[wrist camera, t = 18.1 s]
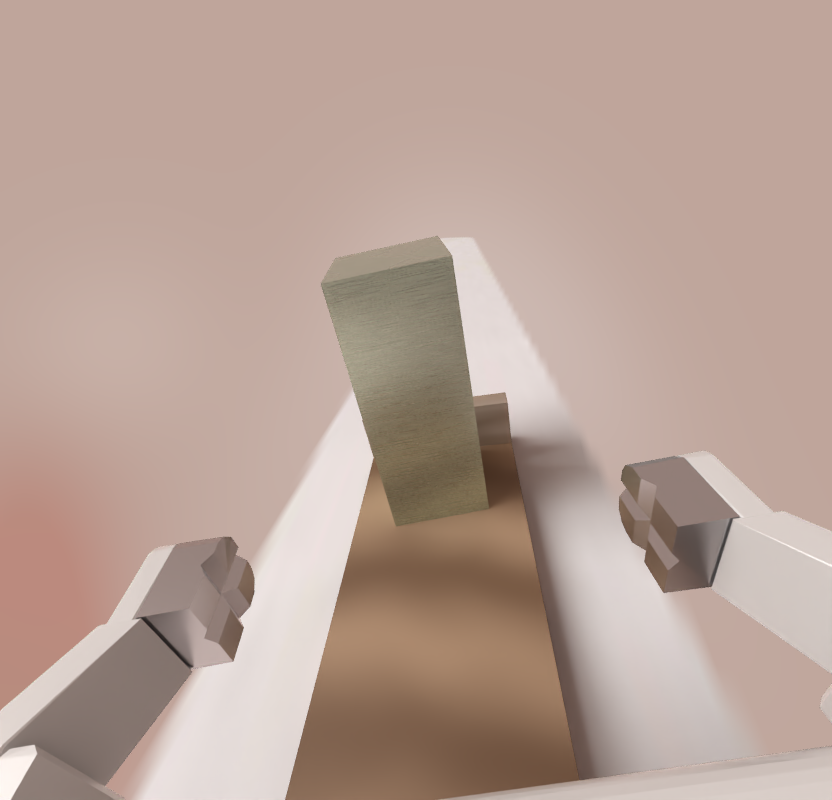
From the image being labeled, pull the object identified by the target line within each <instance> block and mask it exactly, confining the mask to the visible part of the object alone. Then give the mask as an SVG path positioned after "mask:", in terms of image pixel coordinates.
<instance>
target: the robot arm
mask: <svg viewBox="0 0 832 800" xmlns="http://www.w3.org/2000/svg"><path fill="white" fill-rule="evenodd" d="M621 481H622V482H623V484H624V485H625V486H626V488H627V489H626V490H625V491H624V492H623V493H622V494H621V495H620V497H619V511H620V515H621V520H622V523H623V525H624V528H625V530H626V532H627V534H628V536H629V537H630V539H631V541H632V542H633V543H634V544H636V545H638V546H639V547H641V548H643V549H644V550H646V554H645V561H644V562H645V564H646V565H647V567H648V569H649V570H650V572H651V573H652V575H653V577H654V578H655V580H656V581H657V583H658V585H659V586H660V588H661V589H662V591H663V593H667V592H675V591H682V590H689V589H697V588H705V587H712V590H713V591H715V592H716V593H718V594H719V595H720V596H722V597H723V598H725V599H726V600H728V601H729V602H731V603H732V604H733V605H735V606H736V607H737V608H739V609H740V610H742V611H743V612H744V613H746V614H747V615H749V616H750V617H752V618H753V619H755V620H756V621H757V622H759V623H760V624H762V625H763V626H764V627H766V628H767V629H769V630H770V631H772V632H773V633H774V634H776V635H777V636H779V637H780V638H781V639H783V640H784V641H786V642H787V643H789V644H790V645H791V646H793V647H794V648H796V649H797V650H798V651H800V652H801V653H803V654H804V655H806V656H807V657H808V658H810V659H811V660H813V661H814V662H816V663H817V664H818V665H820V666H821V667H823V668H824V669H825V670H827V671H828V672H830V673H831V674H832V531H830V530H828V529H825V528H823V527H820V526H818V525H815V524H813V523H811V522H808V521H806V520H803V519H801V518H799V517H796V516H794V515H791V514H789V513H787V512H784V511H780V512H773V511H772V510H771V509H770V508H769V507H768V506H767V505H766V504H765V503H764V502H762V500H760V499H759V498H758V497H757V496H756V495H755V494H754V493H753V492H752V491H751V490H750V489H749V488H748V487H746V485H745V484H743V483H742V482H741V481H740V480H739V479H738V478H737V477H736V476H735V475H734V474H733V473H732V472H731V471H730V470H729V469H728V468H727V467H725V466H724V465H723V464H722V463H721V462H720V461H719V460H718V459H717V458H716V457H715V456H714V455H713V454H711V453H709V452H707V451H700V452H695V453H689V454H683V455H678V456H673V457H667V458H662V459H657V460H651V461H646V462H641V463H635V464H630V465H625V467H624V469H623V470H622V477H621ZM237 550H238V546H237V545H236V543H235V542H234V540H233V539H232V538H231V537H219V538H213V539H205V540H199V541H192V542H186V543H180V544H176V545H169V546H162V547H157V548H156V549H154V550H153V551H152V552H150V553H149V554H148V556H147V558H146V560H145V561H144V563H143V564H142V566H141V568H140V569H139V571H138V573H137V574H136V576H135V578H134V579H133V581H132V583H131V584H130V586H129V588H128V589H127V591H126V593H125V594H124V596H123V598H122V599H121V601H120V603H119V604H118V606H117V608H116V610H115V611H114V613H113V614H112V616H111V618H110V620H109V621H108V623H107V624H104V625H99V626H98V627H97V628H96V629H94V630H93V631H92V632H91V633H90V634H89V635H87V636H86V637H85V638H84V639H83V640H82V641H81V642H79V643H78V644H77V645H76V646H75V647H74V648H72V649H71V650H70V651H69V652H68V653H67V654H65V655H64V656H63V657H62V658H61V659H60V660H59V661H57V662H56V663H55V664H54V665H53V666H51V667H50V668H49V669H48V670H47V671H46V672H44V673H43V674H42V675H41V676H40V677H39V678H38V679H36V680H35V681H34V682H33V683H32V684H31V685H29V686H28V687H27V688H26V689H25V690H24V691H23V692H21V693H20V694H19V695H18V696H17V697H15V698H14V699H13V700H12V701H11V702H10V703H9V704H7V705H6V706H5V707H4V708H3V709H2V710H0V800H125V799H124V797H122V796H121V795H119V794H117V793H115V792H114V791H112V790H110V789H109V788H107V787H105V785H106V784H107V783H108V782H109V780H110V779H111V778H112V776H113V775H114V774H115V773H116V771H117V770H118V769H119V767H120V766H121V765H122V763H123V762H124V761H125V759H126V758H127V757H128V755H129V754H130V753H131V751H132V750H133V749H134V748H135V746H136V745H137V743H138V742H139V741H140V740H141V738H142V737H143V736H144V734H145V733H146V732H147V731H148V729H149V728H150V727H151V725H152V724H153V723H154V721H155V720H156V719H157V717H158V716H159V715H160V713H161V712H162V711H163V709H164V708H165V707H166V706H167V704H168V703H169V702H170V700H171V699H172V698H173V696H174V695H175V694H176V693H177V691H178V690H179V689H180V687H181V686H182V684H183V683H184V682H185V681H186V679H187V678H188V677H189V675H190V674H191V673H192V671H191V669H196V668H202V667H207V666H212V665H217V664H223V663H228V662H233V661H234V658H235V654H236V651H237V648H238V645H239V641H240V638H241V635H242V632H243V628H244V627H243V624H242V622H241V620H240V617H241V616H242V615H243V614H244V613H245V612H246V610H247V609H248V608H249V607H250V605H251V602H252V598H253V595H254V575H253V571H252V568H251V566H250V565H249V563H248V562H247V560H245V559H243V558H241V557H239V556H237V555H236V553H237ZM820 709H821V710H822V711H823V713H824V714H825V715H826V717H827V718H828V719H829V720H830V722H831V723H832V684H831V685H830V686H829V688H828V689H827V691H826V692H825V694H824V695H823V696H822V699H821V703H820ZM439 800H832V746H828V747H820V748H813V749H805V750H798V751H791V752H783V753H776V754H769V755H761V756H754V757H747V758H739V759H732V760H725V761H717V762H710V763H703V764H695V765H688V766H681V767H674V768H666V769H659V770H652V771H644V772H637V773H630V774H622V775H615V776H608V777H600V778H593V779H586V780H578V781H571V782H564V783H556V784H549V785H542V786H534V787H527V788H520V789H512V790H505V791H498V792H491V793H483V794H476V795H469V796H461V797H454V798H447V799H439Z"/></svg>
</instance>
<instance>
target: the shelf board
mask: <svg viewBox="0 0 832 800" xmlns="http://www.w3.org/2000/svg"><path fill="white" fill-rule="evenodd" d="M473 402H474V409H475V416H476V423H477V430H478V436H479V443H480V450H481V457H482V464H483V470H484V477H485V484H486V491H487V498H488V505H489V509H487V510H481V511H476V512H471V513H465V514H460V515H455V516H449V517H444V518H439V519H433V520H428V521H422V522H417V523H412V524H406V525H401V526H396V525H395V522H394V519H393V516H392V513H391V509H390V506H389V503H388V500H387V496H386V493H385V490H384V487H383V483H382V480H381V477H380V474H379V471H378V467H377V464H376V461H375V458H374V459H373V463H372V467H371V471H370V475H369V478H368V482H367V486H366V490H365V494H364V498H363V502H362V505H361V509H360V513H359V517H358V521H357V525H356V529H355V532H354V536H353V540H352V544H351V548H350V552H349V556H348V559H347V563H346V567H345V571H344V575H343V579H342V583H341V586H340V590H339V594H338V598H337V602H336V606H335V610H334V613H333V617H332V621H331V625H330V629H329V633H328V637H327V640H326V644H325V648H324V652H323V656H322V660H321V664H320V667H319V671H318V675H317V679H316V683H315V687H314V691H313V694H312V698H311V702H310V706H309V710H308V714H307V718H306V721H305V725H304V729H303V733H302V737H301V741H300V745H299V748H298V752H297V756H296V760H295V764H294V768H293V772H292V775H291V779H290V783H289V787H288V791H287V795H286V799H285V800H439V799H447V798H454V797H461V796H469V795H476V794H483V793H491V792H498V791H505V790H512V789H520V788H527V787H534V786H542V785H549V784H556V783H564V782H571V781H578V780H579V776H578V771H577V766H576V761H575V756H574V751H573V746H572V741H571V736H570V731H569V726H568V721H567V717H566V712H565V707H564V702H563V697H562V692H561V687H560V682H559V677H558V672H557V667H556V662H555V657H554V652H553V647H552V642H551V637H550V632H549V627H548V622H547V617H546V612H545V607H544V602H543V597H542V592H541V587H540V582H539V577H538V572H537V567H536V562H535V557H534V552H533V547H532V543H531V538H530V533H529V528H528V523H527V518H526V513H525V508H524V503H523V498H522V493H521V488H520V483H519V478H518V473H517V468H516V463H515V458H514V453H513V448H512V443H511V433H510V423H509V413H508V403H507V398H506V393H497V394H490V395H482V396H474V397H473ZM362 421H363V420H362ZM363 425H364V422H363ZM364 428H365V425H364ZM365 431H366V429H365ZM366 434H367V432H366ZM367 437H368V435H367ZM368 441H369V438H368ZM369 444H370V441H369ZM370 447H371V445H370ZM371 450H372V448H371ZM372 454H373V451H372ZM373 457H374V454H373Z"/></svg>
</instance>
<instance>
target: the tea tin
mask: <svg viewBox="0 0 832 800" xmlns="http://www.w3.org/2000/svg"><path fill="white" fill-rule="evenodd" d="M321 286H322V290H323V293H324V296H325V299H326V303H327V306H328V309H329V312H330V315H331V319H332V322H333V325H334V328H335V332H336V335H337V338H338V341H339V345H340V348H341V351H342V354H343V357H344V361H345V364H346V367H347V370H348V374H349V377H350V380H351V383H352V387H353V390H354V393H355V396H356V399H357V403H358V406H359V409H360V412H361V416H362V419H363V422H364V425H365V429H366V432H367V435H368V438H369V441H370V445H371V448H372V451H373V454H374V458H375V461H376V464H377V467H378V471H379V474H380V477H381V480H382V483H383V487H384V490H385V493H386V496H387V500H388V503H389V506H390V509H391V513H392V516H393V519H394V522H395V525H396V526H401V525H406V524H412V523H417V522H422V521H428V520H433V519H439V518H444V517H449V516H455V515H460V514H465V513H471V512H476V511H481V510H487V509H489V505H488V498H487V491H486V484H485V477H484V470H483V464H482V457H481V450H480V443H479V436H478V430H477V423H476V416H475V409H474V402H473V395H472V389H471V382H470V375H469V368H468V361H467V355H466V348H465V341H464V334H463V327H462V320H461V314H460V307H459V300H458V293H457V286H456V279H455V273H454V266H453V259H452V255H451V253H450V252H449V251H448V249H447V248H446V247H445V245H444V244H443V242H442V241H441V240H440V238H439V237H438V236H435V237H431V238H426V239H422V240H417V241H412V242H408V243H403V244H398V245H394V246H389V247H385V248H380V249H375V250H371V251H367V252H362V253H357V254H353V255H348V256H343V257H339V258H335V260H334V262H333V263H332V265H331V267H330V269H329V270H328V272H327V274H326V276H325V277H324V279H323V281H322V283H321Z"/></svg>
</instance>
